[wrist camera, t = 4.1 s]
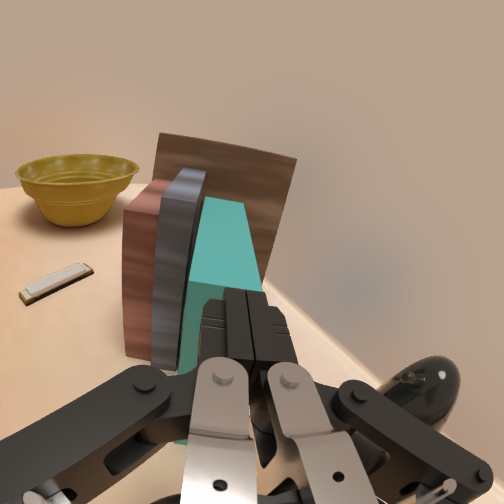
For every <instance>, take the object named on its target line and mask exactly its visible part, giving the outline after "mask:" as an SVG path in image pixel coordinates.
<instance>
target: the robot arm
mask: <svg viewBox="0 0 504 504" xmlns="http://www.w3.org/2000/svg"><path fill="white" fill-rule="evenodd" d="M289 335H290V333H289V330H288V328H287V323H286V319H285V316H284V315H283V314H282V312H281V311H280V310H279V309H278V308H277V307H274V306H268V302H267V298H266V294H265V292H259V291H251V290H243V289H236V288H229V287H225V288H224V292H223V297H222V300H218V299H211V298H210V299H209V300H208V301H207V302H206V303H205V305H204V306H203V311H202V318H201V324H200V331H199V338H198V352H197V366H196V367H195V368H194V369H193V370H191V371H190V372H188V373H185V374H182V375H176V376H167V375H166V374H165V373H164V372H162V371H161V370H159V369H158V368H155V367H153V366H148V365H137V366H133V367H130V368H128V369H126V370H125V371H123V372H121V373H120V374H118V375H116V376H115V377H113V378H111V379H110V380H108V381H106V382H105V383H103V384H101V385H100V386H98V387H96V388H94V389H93V390H91V391H89V392H88V393H86V394H84V395H82V396H81V397H79V398H77V399H76V400H74V401H72V402H70V403H69V404H67V405H65V406H63V407H62V408H60V409H58V410H56V411H54V412H53V413H51V414H49V415H47V416H46V417H44V418H42V419H40V420H38V421H36V422H35V423H33V424H31V425H29V426H27V427H25V428H24V429H22V430H20V431H18V432H16V433H14V434H12V435H11V436H9V437H7V438H5V439H3V440H1V441H0V504H86V503H88V502H89V501H91V500H92V499H94V498H95V497H97V496H98V495H100V494H101V493H103V492H104V491H106V490H107V489H108V488H110V487H111V486H113V485H114V484H116V483H117V482H118V481H120V480H121V479H122V478H124V477H125V476H126V475H128V474H129V473H130V472H132V471H133V470H134V469H136V468H137V467H138V466H140V465H141V464H142V463H144V462H145V461H146V460H147V459H149V458H150V457H151V456H152V455H154V454H155V453H156V452H157V451H159V450H160V449H161V448H162V447H164V446H165V445H166V444H167V443H168V442H173V441H179V440H185V439H188V444H187V451H186V459H185V467H184V476H183V485H182V494H176V495H171V496H167V497H164V498H161V499H159V500H157V501H155V502H152V503H151V504H385V503H384V502H382V501H381V500H379V499H378V498H380V499H382V500H383V501H385V502H386V503H388V504H469V503H470V502H471V501H473V500H475V499H476V498H478V497H480V496H481V495H483V494H484V493H486V492H487V491H489V489H490V488H491V487H492V484H493V472H492V469H491V468H490V466H489V465H488V464H487V463H486V462H485V461H483V460H481V459H480V458H478V457H477V456H475V455H473V454H472V453H470V452H469V451H467V450H465V449H464V448H462V447H461V446H459V445H457V444H456V443H454V442H453V441H451V440H450V439H448V438H446V437H445V436H443V435H442V434H440V433H439V432H437V431H436V430H434V429H433V428H431V427H429V426H428V425H426V424H425V423H423V422H422V421H420V420H419V419H417V418H416V417H414V416H413V415H411V414H410V413H409V412H407V411H406V410H404V409H403V408H401V407H400V406H398V405H397V404H395V403H394V402H392V401H391V400H390V399H388V398H387V397H385V396H384V395H382V394H381V393H379V392H378V391H377V390H375V389H374V388H372V387H371V386H370V385H368V384H366V383H364V382H362V381H359V380H348V381H345V382H344V383H342V385H341V386H340V387H339V388H335V387H331V386H327V385H323V384H319V383H317V382H314V381H313V379H312V377H311V375H310V374H309V372H308V371H307V370H306V369H304V368H303V367H301V366H300V365H299V364H298V361H297V357H296V354H295V350H294V347H293V343H292V340H291V336H289ZM249 405H250V415H249ZM356 431H358V432H360V433H361V434H363V435H364V436H365V437H367V438H368V439H370V440H371V441H372V442H374V443H375V444H377V445H378V446H380V447H381V448H382V449H384V451H382V450H378V449H376V448H375V447H373V446H372V445H371V444H369V443H368V442H366V441H365V440H364V439H362V438H361V437H359V436H358V435H357V434H355V432H356ZM256 472H257V476H256ZM376 496H377V497H378V498H377V497H376Z"/></svg>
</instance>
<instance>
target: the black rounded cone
mask: <svg viewBox="0 0 504 504" xmlns="http://www.w3.org/2000/svg"><path fill="white" fill-rule="evenodd" d="M459 389H460V373H459V370H458V368H457V366H456V365H455V364H454V362H453V361H451V360H450V359H448V358H446V357H443V356H430V357H427V358H424V359H422V360H419V361H417V362H415V363H414V364H411V365H410V366H408V367H406V368H405V369H403V370H402V371H400V372H399V373H397V374H396V375H395V376H393V377H392V378H390V379H389V380H388V381H386V382H385V383H384V384H382V385H381V386H380V387H379V388H377V389H376V390H377V391H378V392H379V393H381V394H382V395H384V396H385V397H387V398H388V399H390V400H391V401H392V402H394V403H395V404H397V405H398V406H400V407H401V408H403V409H404V410H406V411H407V412H409V413H410V414H411V415H413V416H414V417H416V418H417V419H419V420H420V421H422V422H423V423H425V424H426V425H428V426H429V427H431V428H433V429H434V430H436V431H437V432H439V433H440V431H441V430H442V428H443V427H444V425H445V423H446V422H447V420H448V418H449V416H450V414H451V412H452V410H453V408H454V406H455V403H456V400H457V398H458V394H459ZM355 434H357V435H358V436H359V437H361V438H362V439H364V440H365V441H366V442H368V443H369V444H371V445H372V446H373V447H375V448H376V449H378V450H382V451H384V449H382V448H381V447H380V446H378V445H377V444H375V443H374V442H372V441H371V440H370V439H368V438H367V437H365V436H364V435H363V434H361V433H360V432H358V431H356V432H355Z"/></svg>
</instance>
